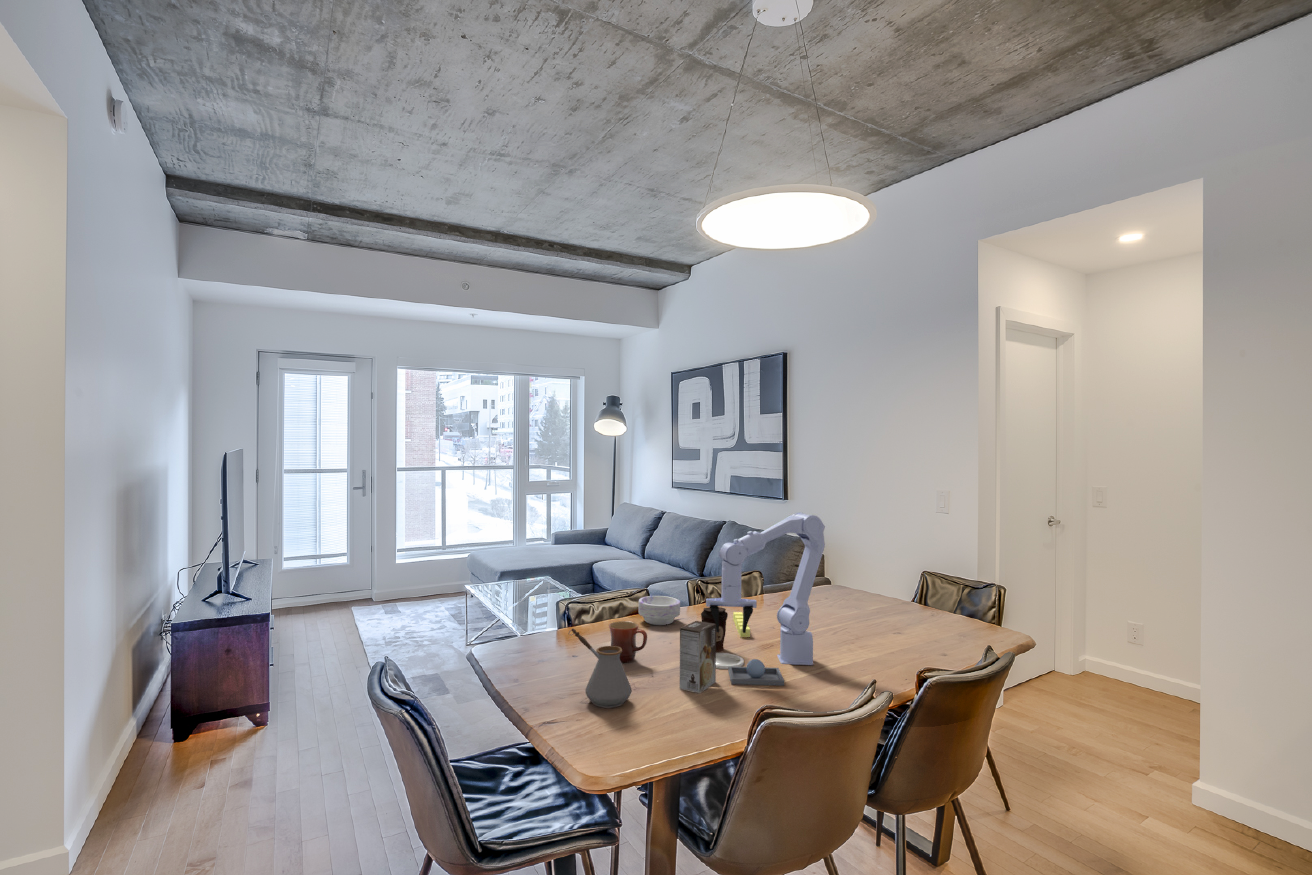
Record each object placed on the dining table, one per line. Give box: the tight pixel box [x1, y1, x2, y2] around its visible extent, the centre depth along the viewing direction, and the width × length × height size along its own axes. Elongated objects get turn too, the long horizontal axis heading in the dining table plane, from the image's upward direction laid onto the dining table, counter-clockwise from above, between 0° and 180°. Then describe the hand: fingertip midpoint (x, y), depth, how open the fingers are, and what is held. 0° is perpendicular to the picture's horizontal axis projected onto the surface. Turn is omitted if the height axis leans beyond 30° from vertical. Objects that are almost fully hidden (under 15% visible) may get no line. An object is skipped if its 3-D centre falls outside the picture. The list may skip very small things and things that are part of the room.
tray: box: [727, 666, 785, 687], centre depth 178 cm, size 14×10×2 cm
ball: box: [745, 658, 765, 678], centre depth 178 cm, size 5×5×5 cm
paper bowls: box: [638, 595, 681, 626], centre depth 236 cm, size 15×15×8 cm
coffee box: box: [679, 620, 717, 694], centre depth 173 cm, size 9×6×16 cm
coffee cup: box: [700, 606, 729, 653], centre depth 203 cm, size 9×8×13 cm
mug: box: [608, 620, 648, 664], centre depth 192 cm, size 12×9×10 cm
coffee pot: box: [568, 628, 633, 709], centre depth 165 cm, size 21×12×15 cm, turn 45°
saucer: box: [716, 652, 745, 670], centre depth 191 cm, size 12×12×1 cm
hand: (730, 631), depth 189 cm, fingers open, 7 cm apart
